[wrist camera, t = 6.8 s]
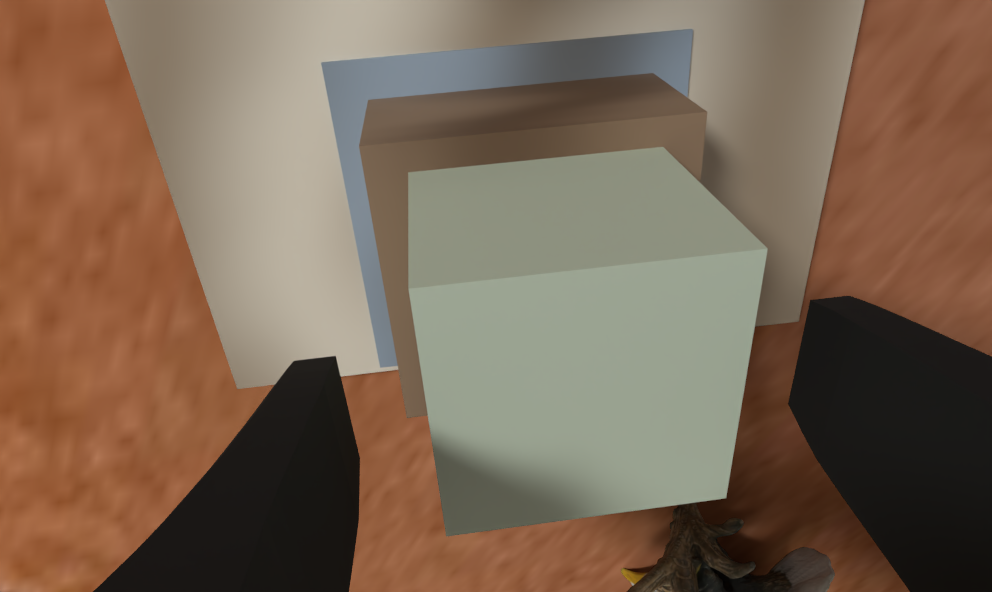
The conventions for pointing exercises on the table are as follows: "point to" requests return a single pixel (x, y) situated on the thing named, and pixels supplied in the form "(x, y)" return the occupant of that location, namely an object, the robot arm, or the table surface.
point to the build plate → (439, 69)
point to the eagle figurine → (724, 563)
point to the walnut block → (503, 157)
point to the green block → (579, 335)
